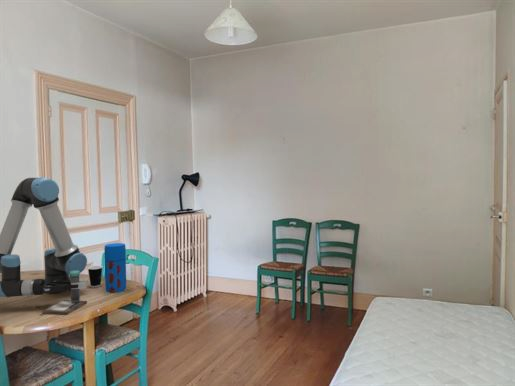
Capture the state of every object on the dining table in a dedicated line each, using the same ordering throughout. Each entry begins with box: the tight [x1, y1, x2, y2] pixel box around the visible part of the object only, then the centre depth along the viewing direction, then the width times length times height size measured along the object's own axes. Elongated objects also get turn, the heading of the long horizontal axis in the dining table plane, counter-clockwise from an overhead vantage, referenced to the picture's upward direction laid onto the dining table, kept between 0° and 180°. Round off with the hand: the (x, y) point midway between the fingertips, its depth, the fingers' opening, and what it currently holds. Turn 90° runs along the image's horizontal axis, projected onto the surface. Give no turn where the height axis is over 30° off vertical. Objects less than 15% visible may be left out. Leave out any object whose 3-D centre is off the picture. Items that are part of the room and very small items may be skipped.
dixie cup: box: [87, 265, 103, 289], centre depth 218 cm, size 8×8×11 cm
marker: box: [69, 270, 81, 303], centre depth 186 cm, size 4×4×15 cm
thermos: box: [103, 242, 127, 294], centre depth 211 cm, size 11×11×25 cm
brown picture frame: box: [41, 299, 88, 316], centre depth 182 cm, size 16×12×2 cm
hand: (86, 283), depth 187 cm, fingers closed on marker, 4 cm apart
